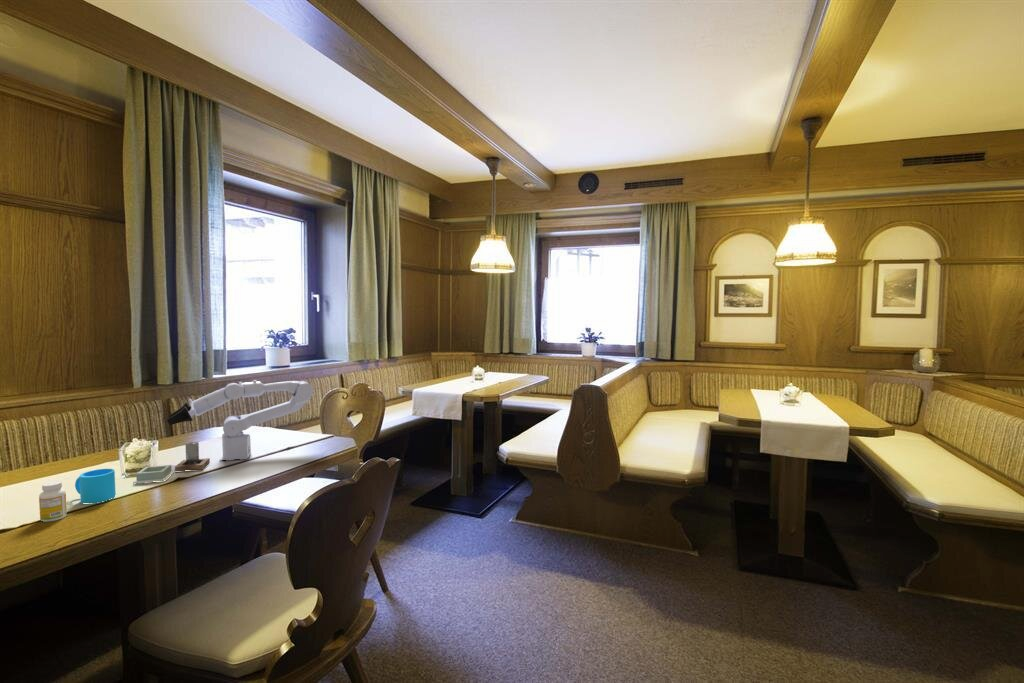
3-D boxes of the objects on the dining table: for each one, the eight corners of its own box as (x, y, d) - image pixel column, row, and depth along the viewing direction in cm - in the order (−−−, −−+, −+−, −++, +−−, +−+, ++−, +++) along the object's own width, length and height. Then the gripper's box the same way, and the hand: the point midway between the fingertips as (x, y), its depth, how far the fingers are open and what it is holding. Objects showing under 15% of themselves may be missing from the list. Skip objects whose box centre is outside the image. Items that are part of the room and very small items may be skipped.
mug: (122, 495, 154) (121, 469, 154) (96, 505, 146) (95, 478, 146) (90, 492, 156) (89, 467, 156) (62, 502, 148) (61, 475, 148)
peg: (200, 465, 184) (200, 441, 184) (197, 469, 180) (196, 444, 180) (188, 466, 183) (187, 442, 183) (184, 470, 179) (183, 445, 179)
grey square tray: (174, 473, 175) (174, 464, 175) (164, 481, 167) (164, 472, 166) (144, 475, 173) (144, 466, 173) (133, 484, 164) (132, 474, 164)
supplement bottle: (51, 514, 140) (49, 480, 139) (72, 513, 140) (70, 479, 139) (34, 522, 134) (32, 487, 134) (56, 522, 135) (54, 486, 134)
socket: (209, 463, 187) (209, 458, 187) (202, 470, 179) (202, 464, 179) (183, 465, 185) (183, 460, 184) (174, 472, 176) (174, 466, 176)
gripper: (203, 390, 195) (165, 407, 189) (202, 396, 182) (161, 414, 176) (213, 406, 196) (175, 423, 191) (212, 413, 184) (172, 431, 178)
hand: (169, 420), depth 184 cm, fingers open, 7 cm apart
